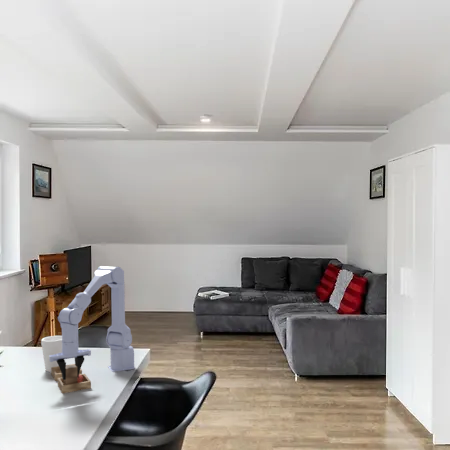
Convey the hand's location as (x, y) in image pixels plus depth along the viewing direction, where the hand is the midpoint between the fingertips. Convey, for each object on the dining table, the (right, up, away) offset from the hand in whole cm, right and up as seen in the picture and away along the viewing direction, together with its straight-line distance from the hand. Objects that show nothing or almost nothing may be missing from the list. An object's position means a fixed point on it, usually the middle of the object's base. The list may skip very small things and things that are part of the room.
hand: (70, 377), depth 166 cm
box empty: (-7, -4, +15) cm, 17 cm away
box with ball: (+1, -4, +2) cm, 5 cm away
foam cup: (-15, -5, +24) cm, 29 cm away
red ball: (+1, -4, +5) cm, 6 cm away
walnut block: (0, -2, 0) cm, 2 cm away
